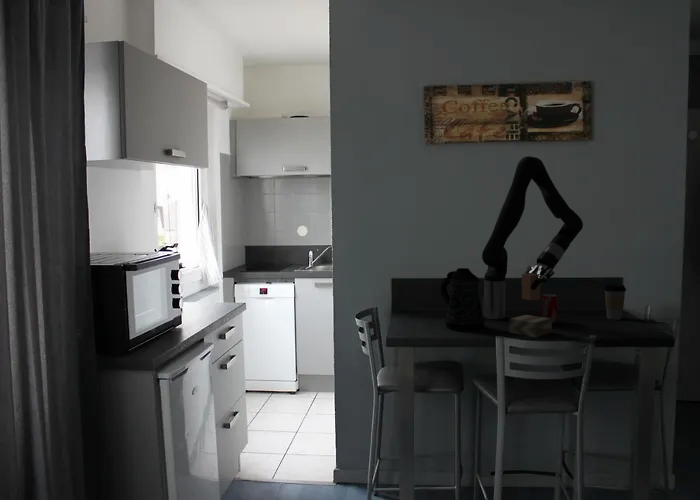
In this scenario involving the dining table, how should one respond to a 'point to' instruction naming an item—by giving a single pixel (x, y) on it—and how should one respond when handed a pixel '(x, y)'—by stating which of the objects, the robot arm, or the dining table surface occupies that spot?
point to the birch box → (530, 325)
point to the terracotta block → (526, 287)
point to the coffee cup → (614, 300)
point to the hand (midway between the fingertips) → (527, 287)
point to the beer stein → (462, 301)
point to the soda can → (549, 307)
